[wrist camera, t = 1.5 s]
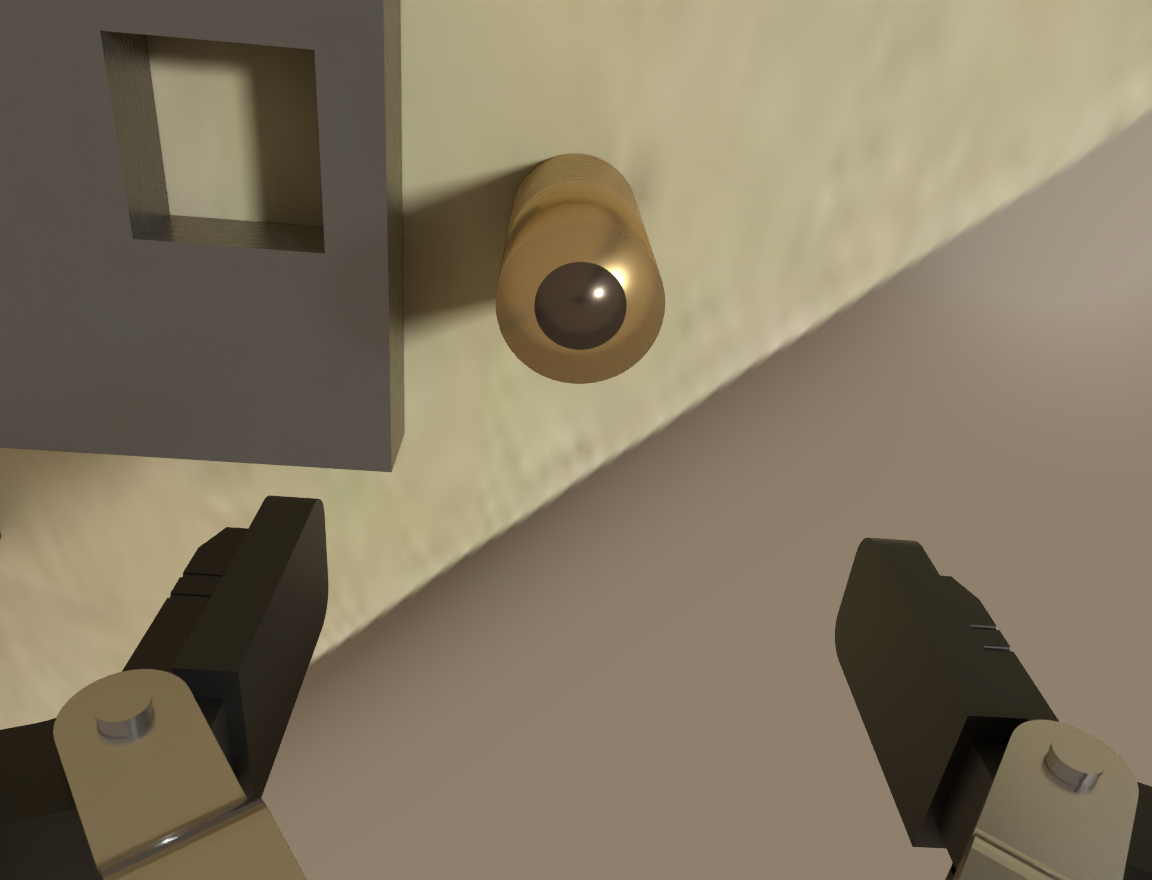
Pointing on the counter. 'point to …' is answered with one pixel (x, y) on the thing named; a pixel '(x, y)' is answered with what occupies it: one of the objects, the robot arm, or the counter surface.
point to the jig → (196, 248)
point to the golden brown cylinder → (578, 273)
